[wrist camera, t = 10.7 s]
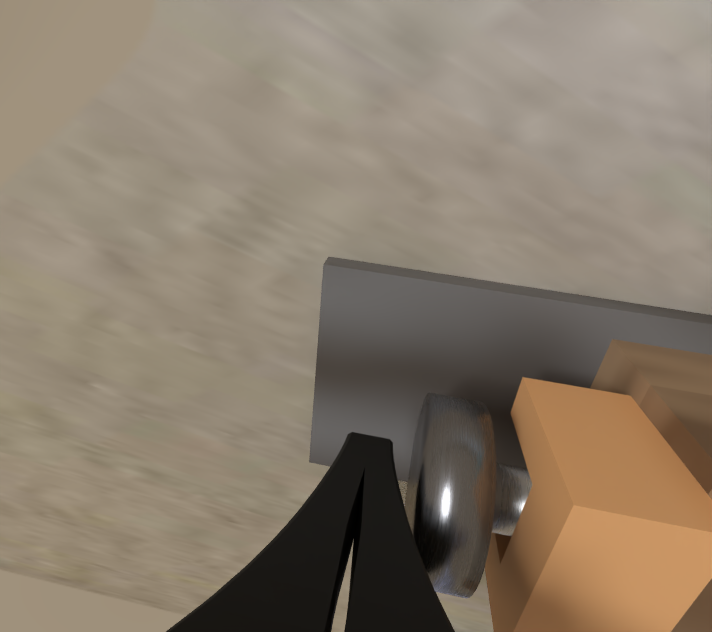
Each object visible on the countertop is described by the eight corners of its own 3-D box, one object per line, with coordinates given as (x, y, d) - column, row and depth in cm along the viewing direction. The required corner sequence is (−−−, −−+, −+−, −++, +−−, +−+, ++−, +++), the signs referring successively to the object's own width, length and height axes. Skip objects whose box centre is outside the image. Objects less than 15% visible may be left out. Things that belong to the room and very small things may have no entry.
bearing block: (745, 534, 17) (949, 802, 10) (313, 448, 18) (251, 632, 12) (903, 344, 12) (1417, 592, 6) (328, 256, 14) (245, 376, 8)
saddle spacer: (565, 529, 14) (623, 692, 10) (477, 511, 14) (498, 662, 10) (630, 395, 12) (742, 538, 8) (522, 377, 12) (573, 505, 8)
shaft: (742, 541, 14) (890, 742, 9) (406, 474, 15) (396, 626, 10) (836, 430, 12) (1090, 625, 7) (431, 359, 13) (434, 492, 8)
